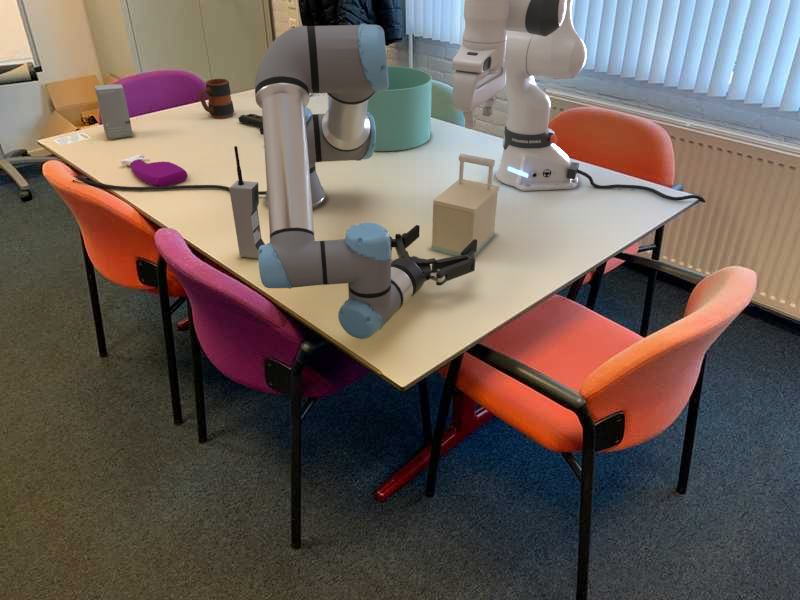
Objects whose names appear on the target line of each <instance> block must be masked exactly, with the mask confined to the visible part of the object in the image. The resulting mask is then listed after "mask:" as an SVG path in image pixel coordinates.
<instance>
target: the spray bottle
mask: <svg viewBox="0 0 800 600" xmlns="http://www.w3.org/2000/svg"><path fill="white" fill-rule="evenodd" d="M145 161H149V163H147V162H145ZM120 163H121V166H129V167H130V169H131V172H132V173H133V175H134V176H135V177H136V178H137V179H139V180H141V181H142V182H143V183H145V184H148V185H150V186H151V187H158V186H174V185H176V184H178V183H182V182H184V181H186V180H187V178H188V172H187V171H186V170H185V169H184V168H183V167H181V166H180V165H177V164H175V163H174V162H170V161H154V162H150V158H146V157H145V154H144V153H142V154H136V155H133V156H129V157H127V158H124V159H121V160H120Z"/></svg>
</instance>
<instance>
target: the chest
mask: <svg viewBox="0 0 800 600" xmlns="http://www.w3.org/2000/svg"><path fill="white" fill-rule="evenodd" d="M498 192H499V191H497V192H496V193H495V194H494V195H493V196H492V197H491V198H490V199H489V200H488V201H487V202H486V203H485V204H484V205H483V206H482V207H481V208H479V209H478V210H477V211H476V212H475V213H471V212H466V211H462V210H457V209H453V208H449V207H444V206H440V205H436V204H432V233H431V250H433V251H436V252H440V253H444V254H447V255H452V256H459V255H461V252H462V251H463V250H464V249H465V248H466V247H467V246H468V245H469V244H470V243H471V242H472V241H473V240H474V239H476V240H477V251H476V252H475V256H476V255H477V254H478V253H479V252H480V251H481V250H482V249H483V248H484V247H485V246H486V245H487V243H488V242H489V241H490V240H492V238H493V237H494V236H495V225H496V217H497V216H496V215H497V203H498Z"/></svg>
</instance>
